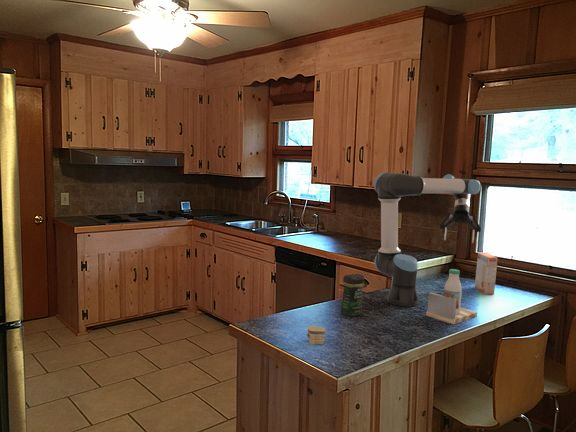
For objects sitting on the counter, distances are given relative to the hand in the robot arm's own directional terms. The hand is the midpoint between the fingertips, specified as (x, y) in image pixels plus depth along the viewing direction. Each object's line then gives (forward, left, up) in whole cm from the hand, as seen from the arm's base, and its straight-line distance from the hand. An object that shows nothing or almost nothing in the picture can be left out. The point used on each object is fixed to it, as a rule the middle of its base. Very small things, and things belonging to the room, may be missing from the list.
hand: (458, 240), depth 240 cm
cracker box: (+26, +19, -32) cm, 45 cm away
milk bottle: (-13, -26, -30) cm, 42 cm away
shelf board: (-12, -26, -32) cm, 43 cm away
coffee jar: (-59, -26, -32) cm, 72 cm away
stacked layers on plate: (-80, -60, -32) cm, 105 cm away
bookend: (-19, -31, -30) cm, 47 cm away
